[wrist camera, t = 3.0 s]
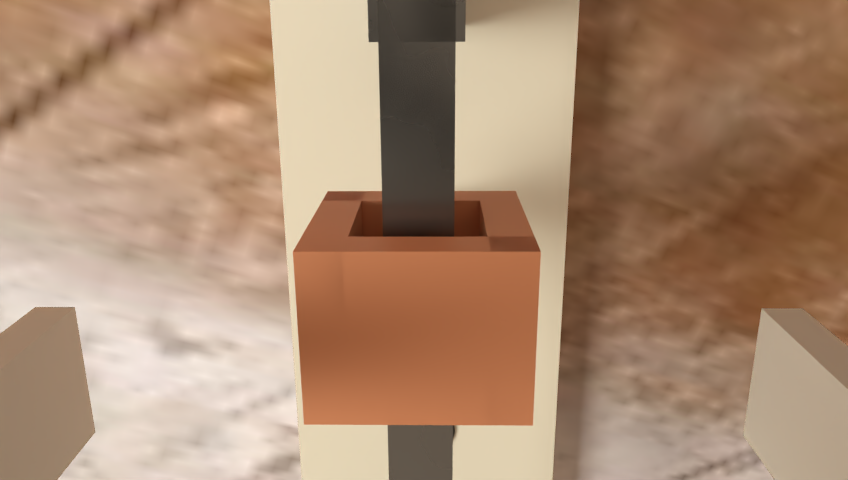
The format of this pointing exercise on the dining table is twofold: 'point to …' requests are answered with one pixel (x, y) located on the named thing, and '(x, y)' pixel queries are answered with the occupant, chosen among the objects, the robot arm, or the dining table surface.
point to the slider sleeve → (418, 315)
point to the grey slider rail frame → (418, 166)
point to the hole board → (474, 171)
